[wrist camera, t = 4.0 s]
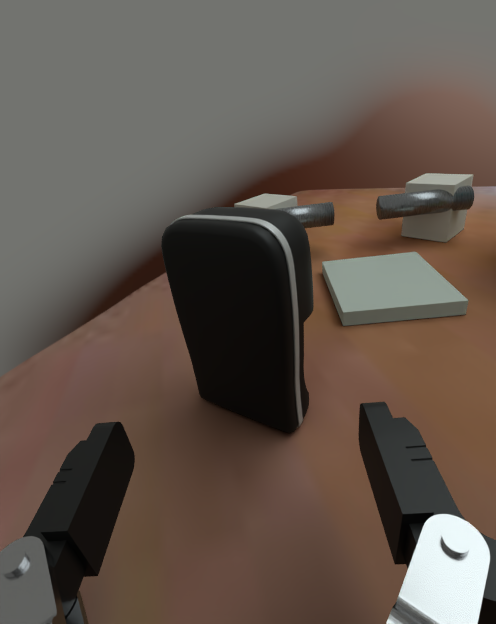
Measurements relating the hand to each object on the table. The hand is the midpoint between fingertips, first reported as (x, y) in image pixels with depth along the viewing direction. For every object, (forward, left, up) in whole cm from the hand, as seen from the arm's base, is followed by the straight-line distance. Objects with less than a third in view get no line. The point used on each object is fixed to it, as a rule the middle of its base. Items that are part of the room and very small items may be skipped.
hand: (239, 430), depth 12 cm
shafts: (-11, -30, -3) cm, 32 cm away
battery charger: (0, -8, -6) cm, 10 cm away
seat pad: (-11, -20, -6) cm, 23 cm away
